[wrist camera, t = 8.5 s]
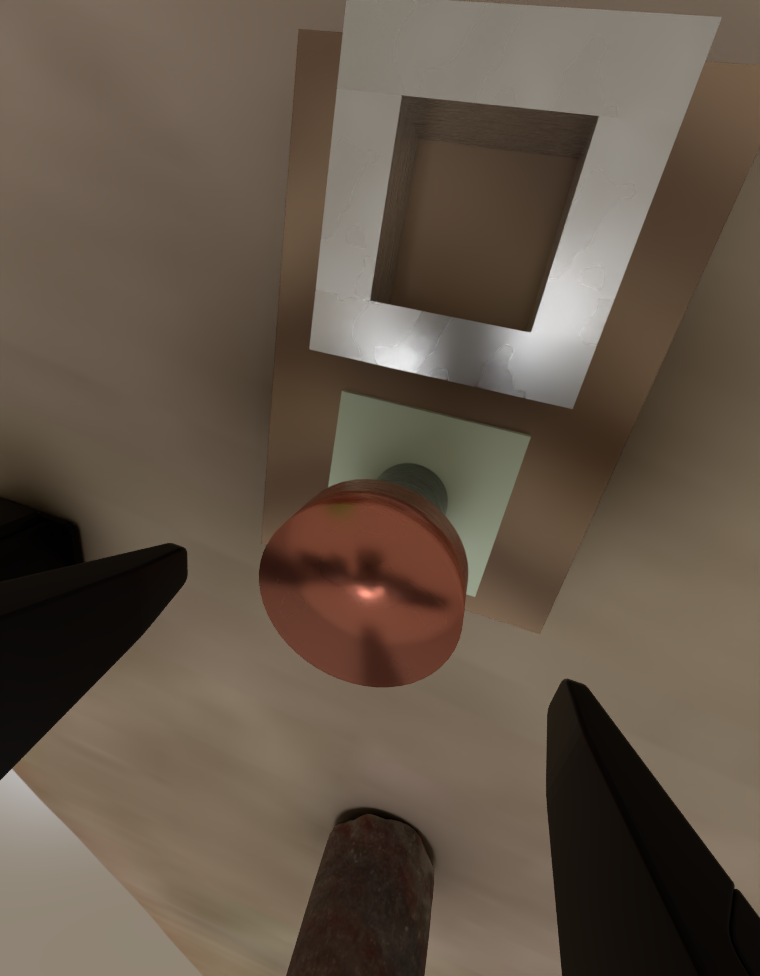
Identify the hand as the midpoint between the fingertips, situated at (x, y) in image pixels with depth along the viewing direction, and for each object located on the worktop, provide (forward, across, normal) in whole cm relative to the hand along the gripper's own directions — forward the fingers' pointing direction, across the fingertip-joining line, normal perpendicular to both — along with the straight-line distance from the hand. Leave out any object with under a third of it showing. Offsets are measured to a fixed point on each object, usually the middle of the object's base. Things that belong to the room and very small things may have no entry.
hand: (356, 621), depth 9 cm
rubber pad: (+8, 0, 0) cm, 8 cm away
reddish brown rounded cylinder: (+8, 0, 0) cm, 8 cm away
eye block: (+8, 0, -9) cm, 12 cm away
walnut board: (+9, 0, -4) cm, 10 cm away
